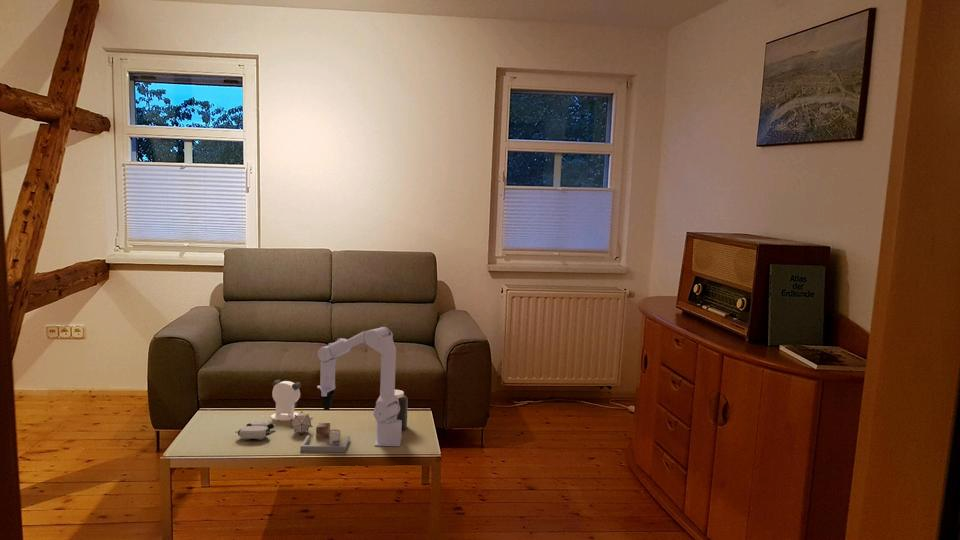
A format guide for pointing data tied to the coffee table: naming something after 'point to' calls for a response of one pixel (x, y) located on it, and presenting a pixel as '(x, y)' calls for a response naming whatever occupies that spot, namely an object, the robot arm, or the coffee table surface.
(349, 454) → the coffee table surface
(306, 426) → the game die
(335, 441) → the silver cylinder
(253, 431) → the robot toy
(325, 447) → the parts pen
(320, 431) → the walnut block
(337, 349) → the robot arm
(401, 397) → the jar
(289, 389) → the panda figurine
